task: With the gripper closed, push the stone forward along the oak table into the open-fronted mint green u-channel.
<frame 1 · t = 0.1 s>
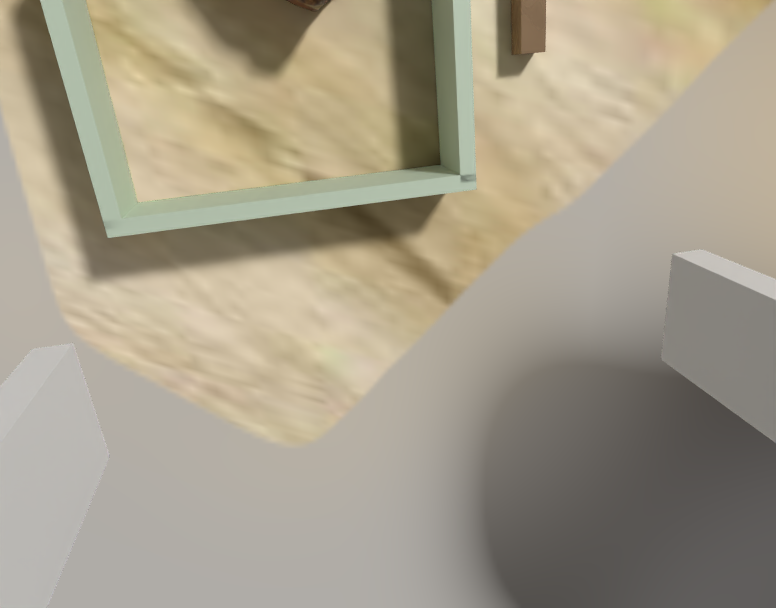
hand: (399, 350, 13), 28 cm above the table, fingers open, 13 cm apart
mint green u-channel: (277, 69, 36), on the table
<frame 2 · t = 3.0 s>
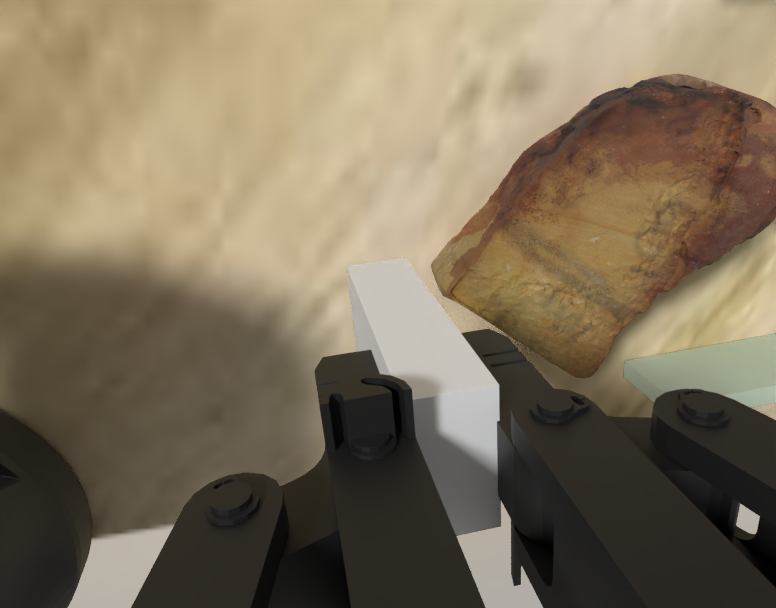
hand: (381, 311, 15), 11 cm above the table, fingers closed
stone: (579, 212, 28), on the table
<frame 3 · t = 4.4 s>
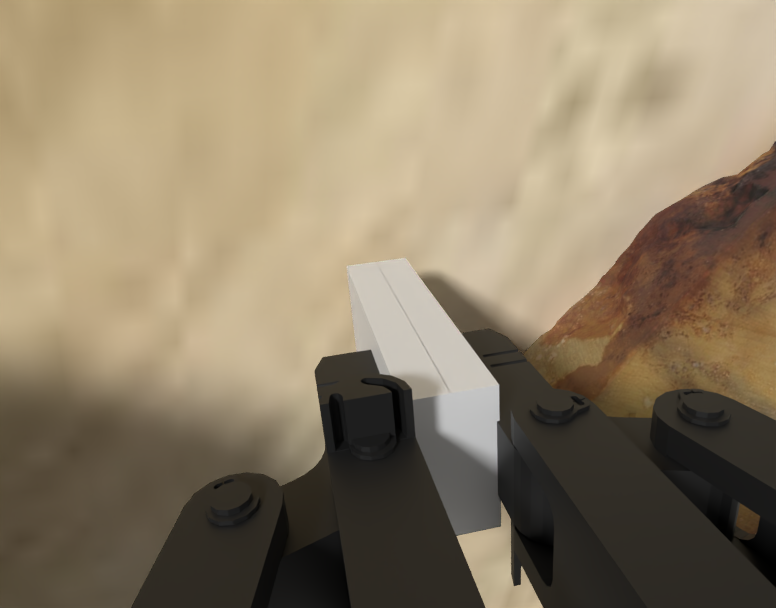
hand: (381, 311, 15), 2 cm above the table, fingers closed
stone: (719, 297, 20), on the table
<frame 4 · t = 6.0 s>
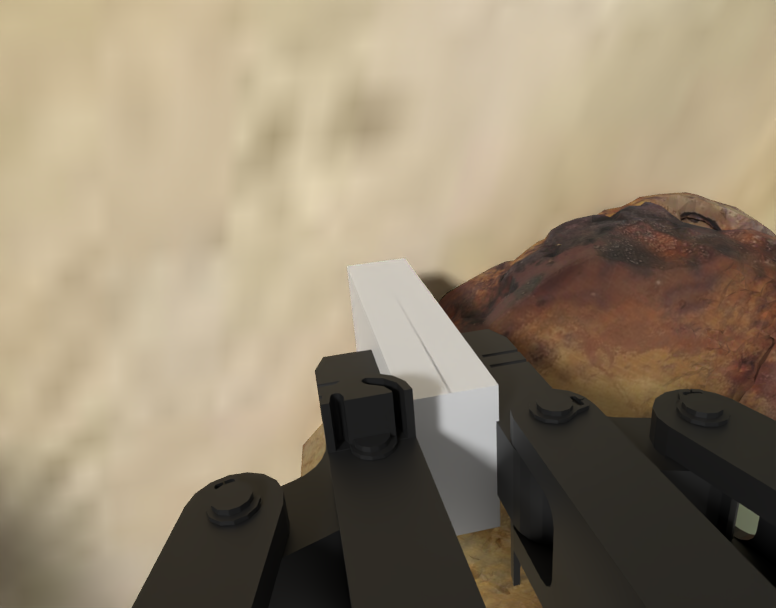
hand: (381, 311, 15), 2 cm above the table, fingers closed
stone: (530, 372, 19), on the table
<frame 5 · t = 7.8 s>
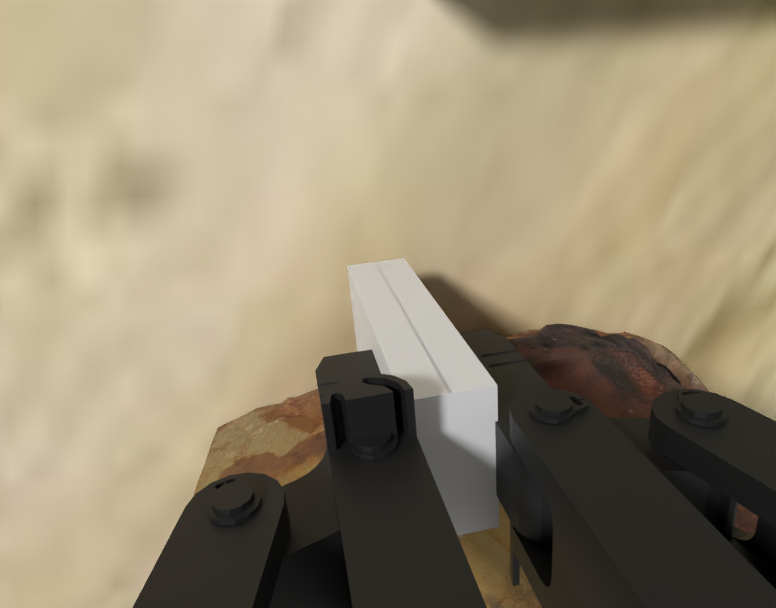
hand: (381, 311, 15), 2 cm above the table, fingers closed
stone: (460, 451, 19), on the table, touching mint green u-channel, gripper
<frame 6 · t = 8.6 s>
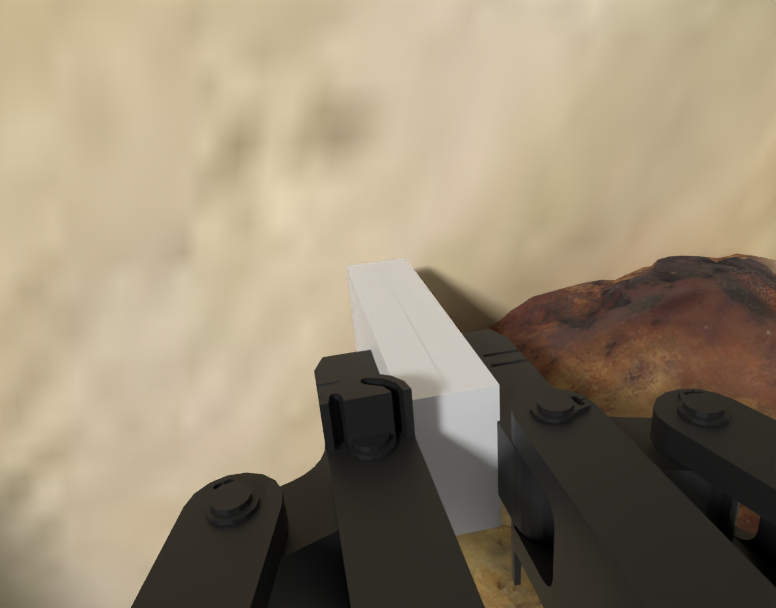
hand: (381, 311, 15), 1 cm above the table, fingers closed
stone: (579, 400, 19), on the table
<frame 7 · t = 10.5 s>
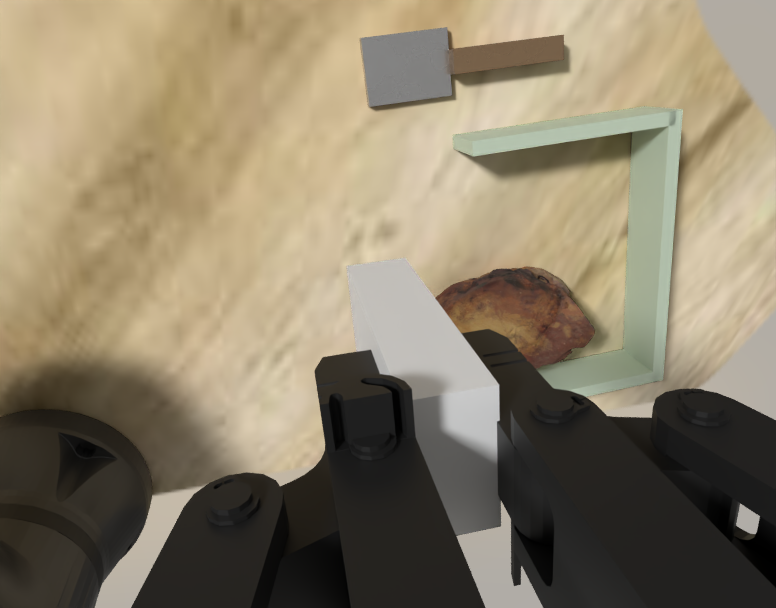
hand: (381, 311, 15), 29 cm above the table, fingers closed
mint green u-channel: (549, 258, 48), on the table
trowel: (453, 61, 41), on the table
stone: (474, 324, 50), on the table
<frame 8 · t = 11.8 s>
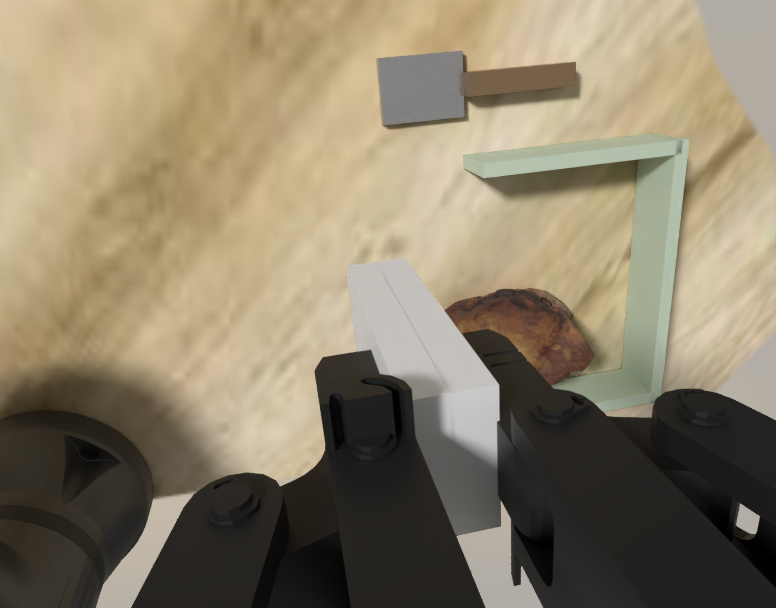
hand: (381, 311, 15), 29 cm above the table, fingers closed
mint green u-channel: (553, 278, 49), on the table
trowel: (467, 83, 42), on the table
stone: (476, 341, 50), on the table
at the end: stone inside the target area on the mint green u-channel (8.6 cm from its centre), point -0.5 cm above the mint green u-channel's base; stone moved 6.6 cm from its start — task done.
